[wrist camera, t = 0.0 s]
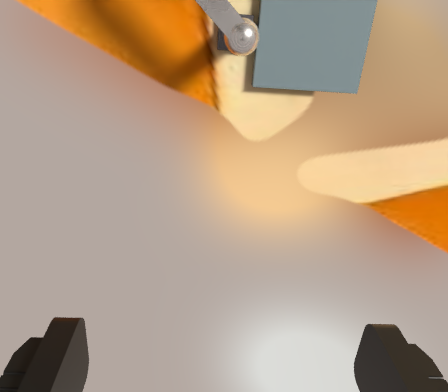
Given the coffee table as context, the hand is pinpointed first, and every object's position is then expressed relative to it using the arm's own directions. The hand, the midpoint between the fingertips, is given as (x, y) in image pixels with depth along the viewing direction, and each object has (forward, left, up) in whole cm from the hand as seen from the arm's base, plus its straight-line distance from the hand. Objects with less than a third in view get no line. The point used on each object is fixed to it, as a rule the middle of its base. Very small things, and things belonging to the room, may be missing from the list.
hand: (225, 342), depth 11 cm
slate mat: (-7, +9, -29) cm, 31 cm away
